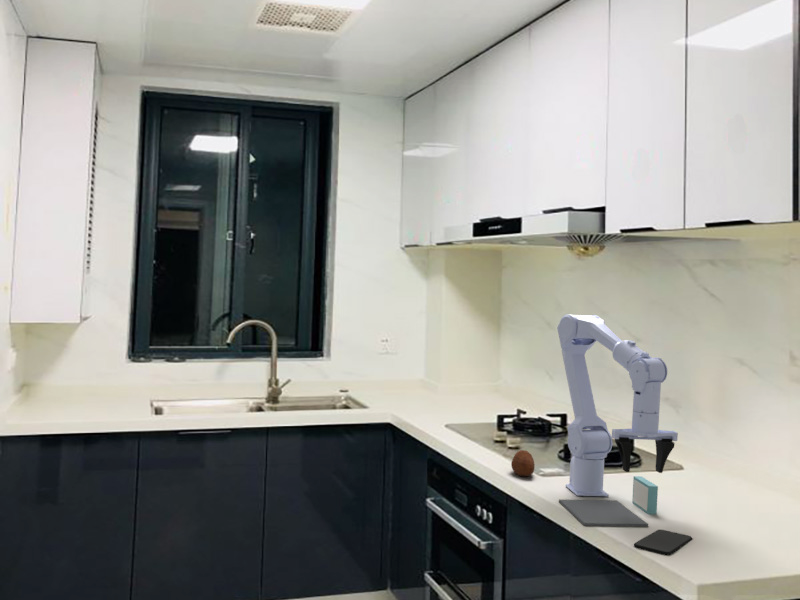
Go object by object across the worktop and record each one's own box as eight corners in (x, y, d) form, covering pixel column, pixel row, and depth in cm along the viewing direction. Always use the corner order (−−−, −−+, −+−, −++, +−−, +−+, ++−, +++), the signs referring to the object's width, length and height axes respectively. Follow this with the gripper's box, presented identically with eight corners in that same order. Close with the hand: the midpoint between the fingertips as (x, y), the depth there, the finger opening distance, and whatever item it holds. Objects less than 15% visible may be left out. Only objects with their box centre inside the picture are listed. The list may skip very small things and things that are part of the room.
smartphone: (694, 536, 161) (669, 553, 149) (694, 541, 161) (669, 558, 149) (658, 528, 165) (631, 543, 154) (658, 532, 165) (631, 548, 154)
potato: (517, 480, 203) (518, 455, 203) (506, 469, 215) (507, 446, 215) (539, 480, 204) (541, 455, 204) (527, 469, 216) (528, 446, 215)
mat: (558, 502, 184) (559, 499, 184) (616, 503, 185) (616, 500, 185) (584, 525, 166) (584, 523, 166) (648, 526, 167) (648, 524, 167)
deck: (632, 503, 186) (633, 476, 186) (640, 503, 186) (641, 476, 186) (647, 514, 177) (649, 486, 177) (656, 514, 177) (657, 486, 177)
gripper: (621, 413, 172) (617, 474, 173) (684, 415, 174) (681, 476, 174) (609, 408, 179) (606, 467, 180) (671, 410, 181) (668, 468, 181)
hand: (642, 471), depth 177 cm, fingers open, 7 cm apart
